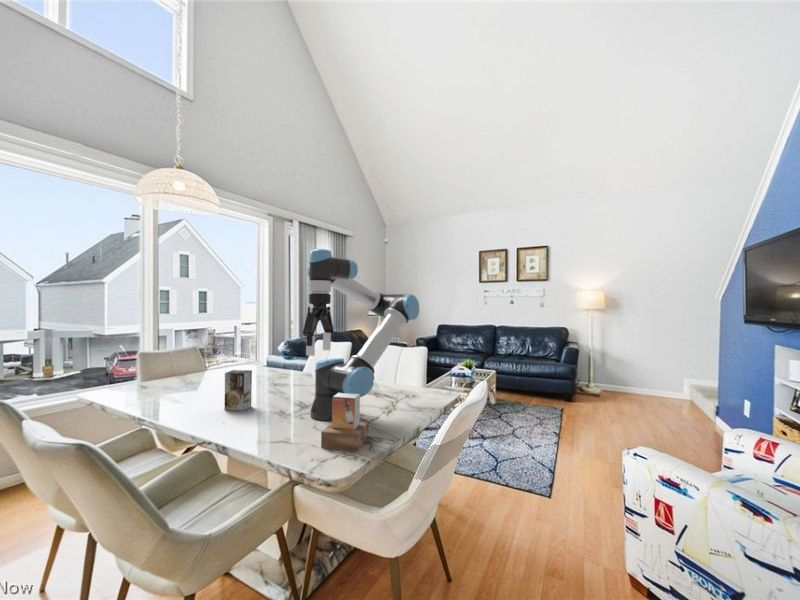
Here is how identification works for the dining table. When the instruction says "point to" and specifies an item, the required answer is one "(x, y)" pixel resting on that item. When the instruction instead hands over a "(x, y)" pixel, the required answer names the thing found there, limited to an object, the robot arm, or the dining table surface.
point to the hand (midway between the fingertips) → (318, 352)
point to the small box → (345, 411)
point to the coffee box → (238, 389)
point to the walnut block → (344, 437)
